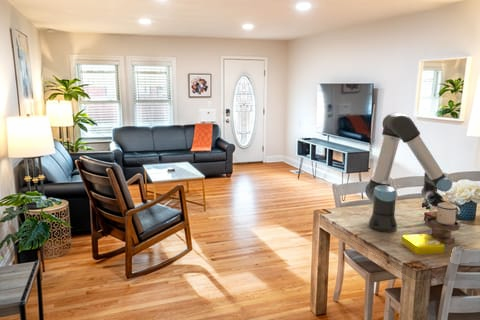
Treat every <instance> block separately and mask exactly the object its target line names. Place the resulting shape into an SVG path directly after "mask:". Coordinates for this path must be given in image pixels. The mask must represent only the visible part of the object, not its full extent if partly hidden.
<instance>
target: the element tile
mask: <svg viewBox="0 0 480 320" xmlns="http://www.w3.org/2000/svg"><path fill="white" fill-rule="evenodd" d="M401 244H402V245H403V246H404V247H406V248H407V249H408V250H410V252H412V253H414V254H416V255H419V256H420V255H421V256H423V255H434V254H444V253H445V243H441V242H440V241H438V240H437V239H435V238H433V237H432V236H430V235H428V234H427V233H419V234H403V235H402V236H401Z"/></svg>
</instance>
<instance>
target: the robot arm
mask: <svg viewBox="0 0 480 320" xmlns="http://www.w3.org/2000/svg"><path fill="white" fill-rule="evenodd" d="M381 124H382V127H383V129H382V131H381V135H382V137H383V140H382V144H381V147H380V151H379V155H378V158H377V161H376V162H377V163H376V166H375V171H374V174H373V176H372V177H371V178H370V179H369V182H368V183H367V184H366V186H365V189H364V192H365V195H366V197H367V198H368V200H369V201H371V202H372V204H373V207H372V214H371V217H370V219H369V221H368V227H369V229H372V230H373V231H376V232H381V233H392V232H396V231H397V229H398V224H397V220H396V216H395V213H396V202H397V201H396V200H397V190H396V189H395V188H394V187H392V186H391V182H390V178H391V173H392V170H393V165H394V162H395V159H396V154H397V151H398V147H399V143H400V141H401V140H402V142H403V143H405V144H406V145H407V146H408V148H409V149H410V151H411V153H412V154H413V155H414V157H415V158H416V160H417V162H418V163H419V164H420V166H421V167H422V170H423V171H424V174H423V175H424V178H423V186H422V188H421V191H420V192H421V196H422V197H423V201H422V202H421V208H425V210H426V211H427V210H429V211H430V213H431V212H432V213H433V214H434V210H435V209H434V208H433V207H438V206H437V205H438V204H439V203H443V202H445V201H446V200H445V199H444V197H443V196H442V195H441V194H440V193H439V192H438V191H440V192H449V190H450V189H452V186H453V182H452V181H451V180H450V179H449V178H448V177H447V176H446V175H445V173H444V172H443V170H442V169H441V167H440V165H439V164H438V162H437V160H436V159H435V158H434V156H433V155H432V153H431V151H430V150H429V148H428V146H427V145H426V143H425V141H424V140H423V139H422V138H421V132H420V130H419V129H418V127H417V125H416V124H415V122H414V121H413V119H412V118H411V117H409V116H408V115H407V114H403V113H398V112H391V113H389V114H387V115H386V116H385V117H384V118H383V120H382V123H381ZM449 201H450V203H452V204H454V205H456V206H457V209H456V215H460V214H461V210H462V205H461V204H459V203H457V202H454V201H453V202H452V201H451V200H449Z"/></svg>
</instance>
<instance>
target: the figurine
mask: <svg viewBox="0 0 480 320" xmlns="http://www.w3.org/2000/svg"><path fill="white" fill-rule="evenodd" d="M454 195H455V194H454ZM454 195H452V194H449V193H448V198H447V200H451V201H452V202H454Z"/></svg>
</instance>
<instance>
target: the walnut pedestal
mask: <svg viewBox="0 0 480 320" xmlns="http://www.w3.org/2000/svg"><path fill="white" fill-rule="evenodd" d="M436 218H437V217H436V216H433V215H431V216H427V217H425V218H424V223H425V225H426V227H429V228H431V231H429V232H427V233H426V234H428V235H430V236H432V237H433V238H435V239H437V240H438V241H440V242H441V243H443V244H451V243H452V244H453V243H454V242H455V241H456V239H455V238H456V237H455V236H454V235H452V232H457V231H458V230H460V227H461V222H459V221H458V220H456V219H455V223H454V224H452V225H447V224H442V223H439V222H437V221H436Z"/></svg>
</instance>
